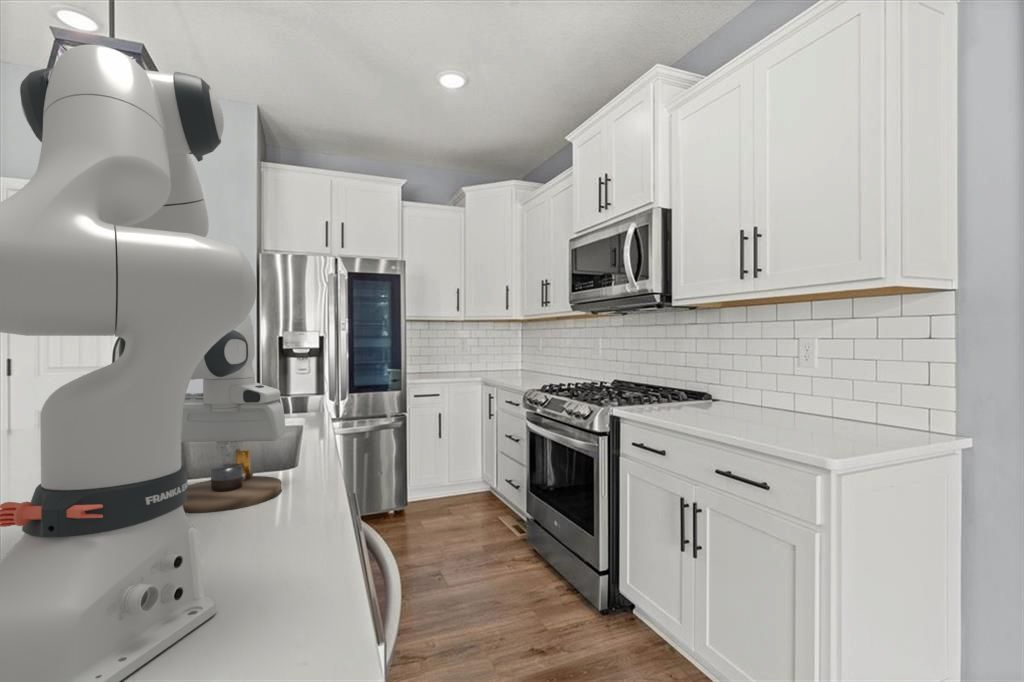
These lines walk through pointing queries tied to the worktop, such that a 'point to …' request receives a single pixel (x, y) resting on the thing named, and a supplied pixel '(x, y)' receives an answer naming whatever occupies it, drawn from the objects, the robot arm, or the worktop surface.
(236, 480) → the dial pointer
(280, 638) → the worktop surface
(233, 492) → the dial plate
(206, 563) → the worktop surface
